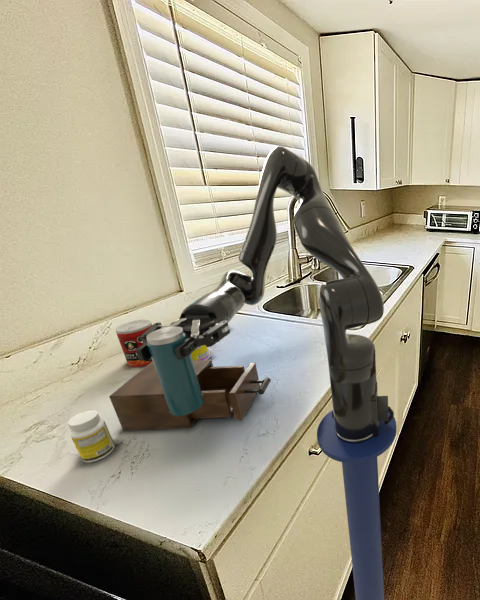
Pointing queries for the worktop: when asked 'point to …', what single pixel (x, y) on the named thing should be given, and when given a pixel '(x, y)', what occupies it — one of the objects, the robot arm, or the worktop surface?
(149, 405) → the cabinet
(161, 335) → the can
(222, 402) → the drawer
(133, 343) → the canned food
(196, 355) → the supplement bottle
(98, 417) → the supplement bottle
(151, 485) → the worktop surface
